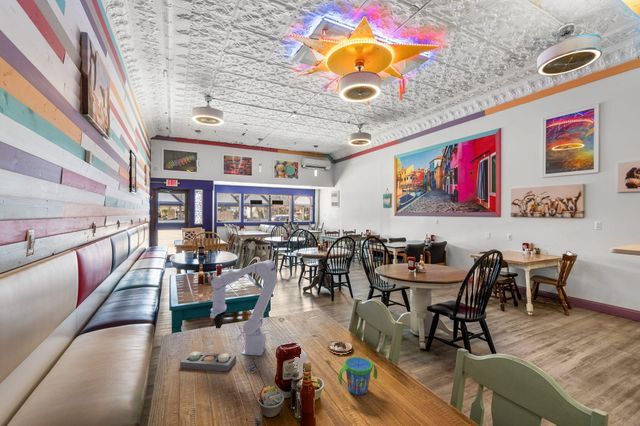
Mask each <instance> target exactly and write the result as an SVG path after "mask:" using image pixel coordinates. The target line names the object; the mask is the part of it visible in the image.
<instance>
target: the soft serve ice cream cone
mask: <svg viewBox="0 0 640 426" xmlns="http://www.w3.org/2000/svg"><path fill="white" fill-rule="evenodd" d="M296 345H298V346H300V348H301V354H300V358H299V357H295V358H294V359H295V361H294V362H293V364H295V366H294V368H297V366H296V365H297V362H298V370H297V372H299V376H300V377H302V372H303V362H305V363H306V361H307V359H308V355H307V353H306V352H305V351H304V350H303V347H302V344H300V343H296Z"/></svg>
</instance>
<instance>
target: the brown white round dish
mask: <svg viewBox="0 0 640 426" xmlns="http://www.w3.org/2000/svg"><path fill="white" fill-rule="evenodd" d="M345 343H346V344H347V345H348V346H347V345H346V344H345ZM331 345H333V346H331ZM349 346H350V348H349V350H347V349H346V348H348V347H349ZM328 348H329V349H330V350H331V351H333V352H336V353H347V352H350V351H352V352H353V351H354V350H353V349H354V346H353V344H352V343H351V342H350V341H349V340H348V341H346V340H331V341H330V342H329V343H328V346H327V349H328ZM329 349H328V350H329Z"/></svg>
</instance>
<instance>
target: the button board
mask: <svg viewBox="0 0 640 426" xmlns="http://www.w3.org/2000/svg"><path fill="white" fill-rule="evenodd" d="M192 352H193V351H190V353H192ZM220 354H221V353H215V352H213V353H211V352H200V359H199V360H198V361H193V360H189V354H187V355H186V356H185V357H184V358H183V359H182V360H180V362H179V368H180V369H190V370H192V369H193V370H205V371H217V372H219V371H220V372H229V370H230V369H231V368H232V366H233V365H234V364H235V363H236V361H237V354H229V353H228V354H229V361H228V362H227V363H223V362H218V356H219V355H220ZM207 356H213V357H214V360H213V361H212V362H208V361H204V358H205V357H207Z"/></svg>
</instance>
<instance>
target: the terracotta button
mask: <svg viewBox="0 0 640 426" xmlns="http://www.w3.org/2000/svg"><path fill="white" fill-rule="evenodd" d="M213 360H214V357H213V356H207V357H205V358H204V361H208V362H212V361H213Z"/></svg>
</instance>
